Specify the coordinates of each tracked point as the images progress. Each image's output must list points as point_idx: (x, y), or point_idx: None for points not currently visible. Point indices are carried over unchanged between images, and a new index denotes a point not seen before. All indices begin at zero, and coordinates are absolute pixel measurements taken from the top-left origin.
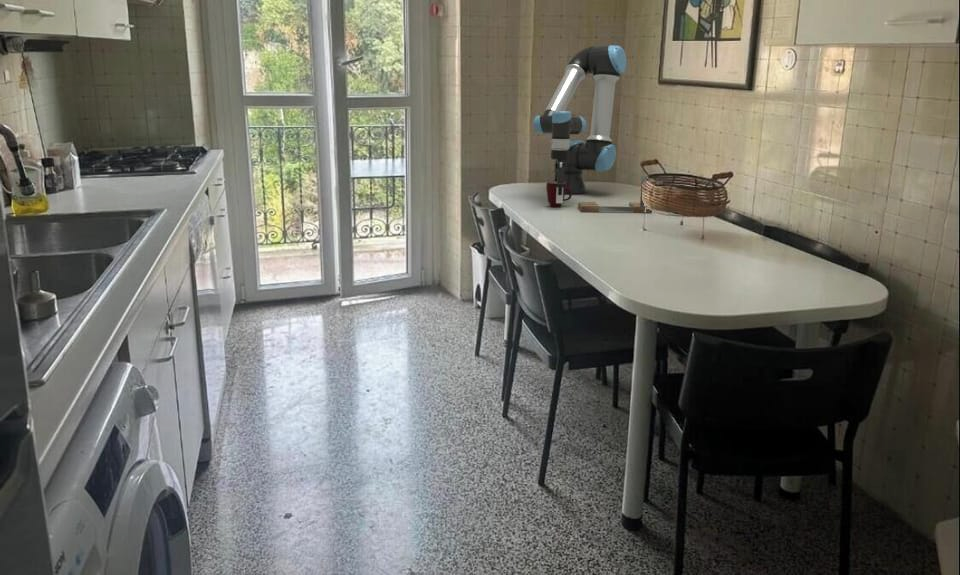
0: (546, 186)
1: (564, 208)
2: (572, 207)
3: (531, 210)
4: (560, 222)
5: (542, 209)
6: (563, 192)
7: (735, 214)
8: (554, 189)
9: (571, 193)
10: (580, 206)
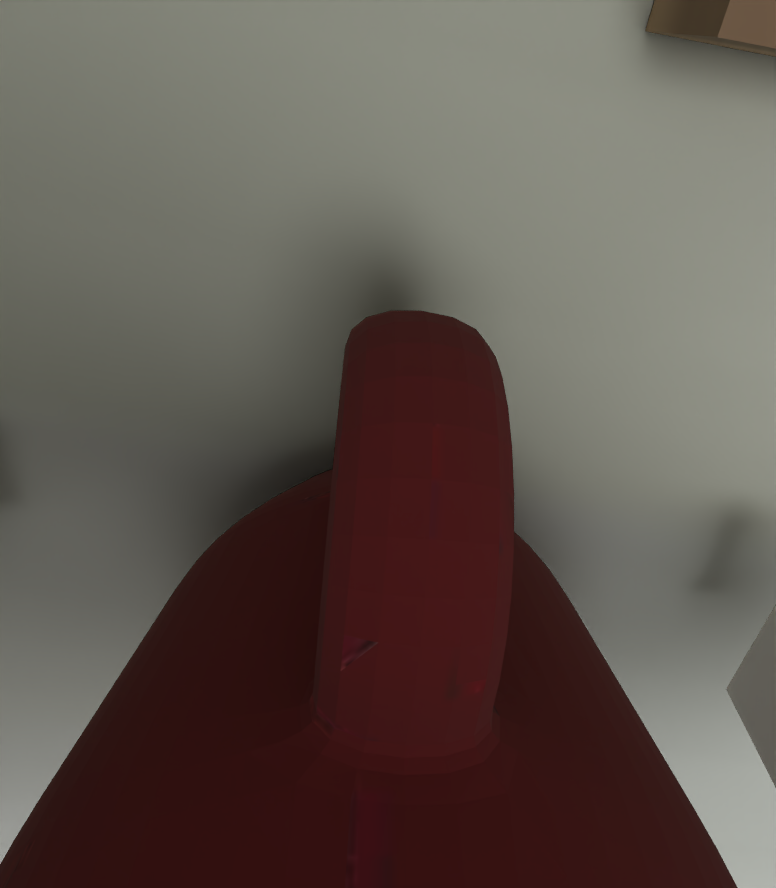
0: None
1: (680, 433)
2: (554, 198)
3: (742, 882)
4: None
5: (691, 772)
6: (646, 742)
7: None
8: None
9: (473, 373)
10: None
